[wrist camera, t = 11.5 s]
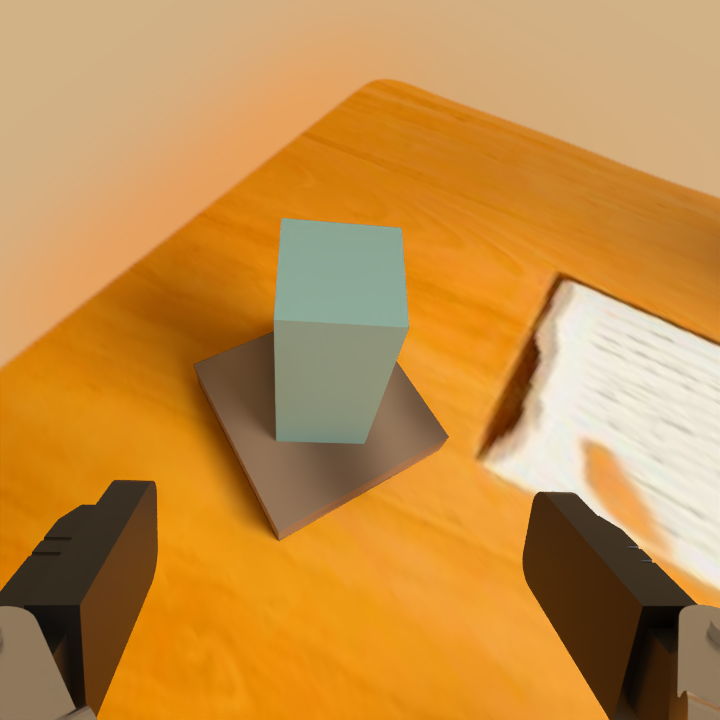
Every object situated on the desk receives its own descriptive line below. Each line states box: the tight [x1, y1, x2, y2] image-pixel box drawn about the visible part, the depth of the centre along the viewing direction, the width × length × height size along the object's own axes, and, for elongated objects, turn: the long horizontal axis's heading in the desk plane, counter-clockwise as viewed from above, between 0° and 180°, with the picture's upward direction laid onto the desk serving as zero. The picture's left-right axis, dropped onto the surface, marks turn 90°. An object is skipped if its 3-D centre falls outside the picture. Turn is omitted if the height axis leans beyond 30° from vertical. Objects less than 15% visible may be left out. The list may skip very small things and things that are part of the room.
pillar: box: [274, 218, 409, 444], centre depth 23 cm, size 4×4×11 cm
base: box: [194, 332, 449, 541], centre depth 29 cm, size 10×10×2 cm
